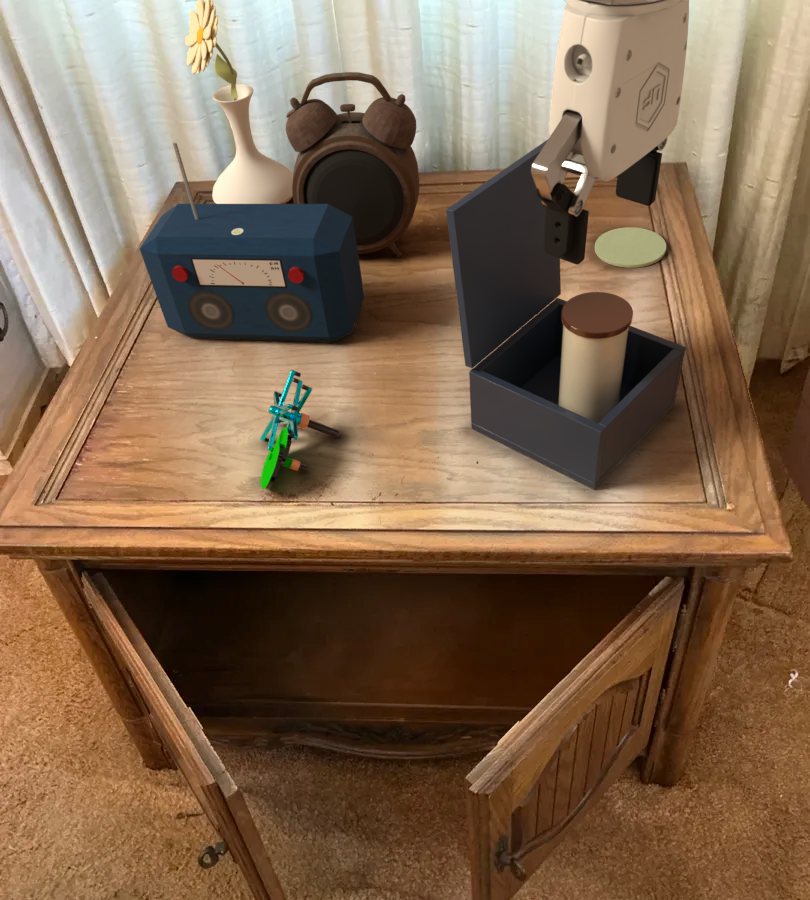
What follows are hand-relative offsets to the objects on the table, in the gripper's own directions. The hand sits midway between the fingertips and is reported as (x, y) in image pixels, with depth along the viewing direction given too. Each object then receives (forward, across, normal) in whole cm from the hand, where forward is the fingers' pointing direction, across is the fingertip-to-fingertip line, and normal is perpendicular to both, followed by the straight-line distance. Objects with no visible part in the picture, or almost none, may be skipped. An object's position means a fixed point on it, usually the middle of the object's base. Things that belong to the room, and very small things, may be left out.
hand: (600, 227), depth 64 cm
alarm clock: (+20, +11, +38) cm, 44 cm away
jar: (+19, 0, -1) cm, 19 cm away
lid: (+5, 0, +8) cm, 10 cm away
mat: (+20, +28, +12) cm, 36 cm away
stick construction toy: (+20, -19, +19) cm, 33 cm away
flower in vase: (+21, +12, +58) cm, 62 cm away
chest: (+20, 0, +1) cm, 20 cm away
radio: (+20, -6, +37) cm, 43 cm away
